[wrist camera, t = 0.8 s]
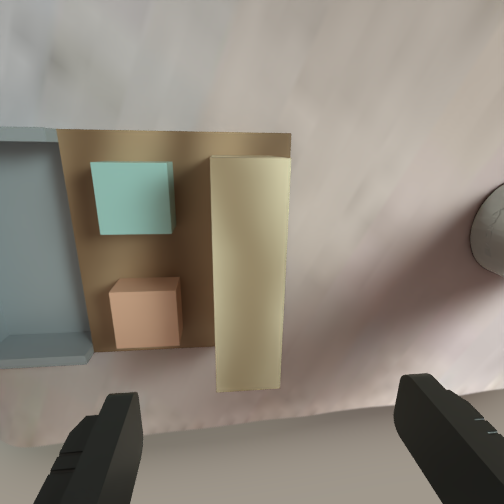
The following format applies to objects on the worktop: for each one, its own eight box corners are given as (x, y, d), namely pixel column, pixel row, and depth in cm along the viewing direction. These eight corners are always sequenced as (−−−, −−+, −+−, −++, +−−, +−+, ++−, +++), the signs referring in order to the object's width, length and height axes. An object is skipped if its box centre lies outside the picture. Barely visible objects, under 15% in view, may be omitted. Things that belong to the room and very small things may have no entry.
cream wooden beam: (269, 155, 22) (291, 158, 15) (264, 328, 26) (279, 388, 20) (212, 155, 22) (209, 157, 15) (216, 330, 26) (216, 392, 19)
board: (284, 134, 24) (291, 133, 22) (276, 327, 29) (281, 342, 27) (73, 131, 23) (56, 128, 20) (104, 335, 28) (94, 352, 26)
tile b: (179, 276, 24) (175, 290, 22) (183, 327, 26) (179, 345, 23) (119, 278, 24) (108, 292, 21) (126, 330, 25) (116, 348, 23)
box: (73, 131, 23) (44, 127, 19) (104, 335, 28) (86, 364, 24) (-51, 128, 22) (-108, 124, 18) (5, 339, 27) (-29, 370, 23)
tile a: (172, 161, 22) (166, 163, 19) (176, 225, 23) (171, 233, 21) (104, 160, 21) (90, 162, 19) (112, 225, 23) (100, 234, 20)
